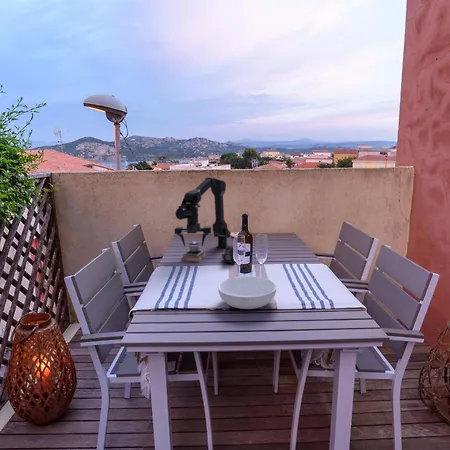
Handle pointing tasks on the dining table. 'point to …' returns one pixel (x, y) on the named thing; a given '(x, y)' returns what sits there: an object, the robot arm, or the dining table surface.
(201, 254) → the mount
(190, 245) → the lens
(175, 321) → the dining table surface
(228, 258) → the night vision scope
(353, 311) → the dining table surface
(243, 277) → the serving bowl
